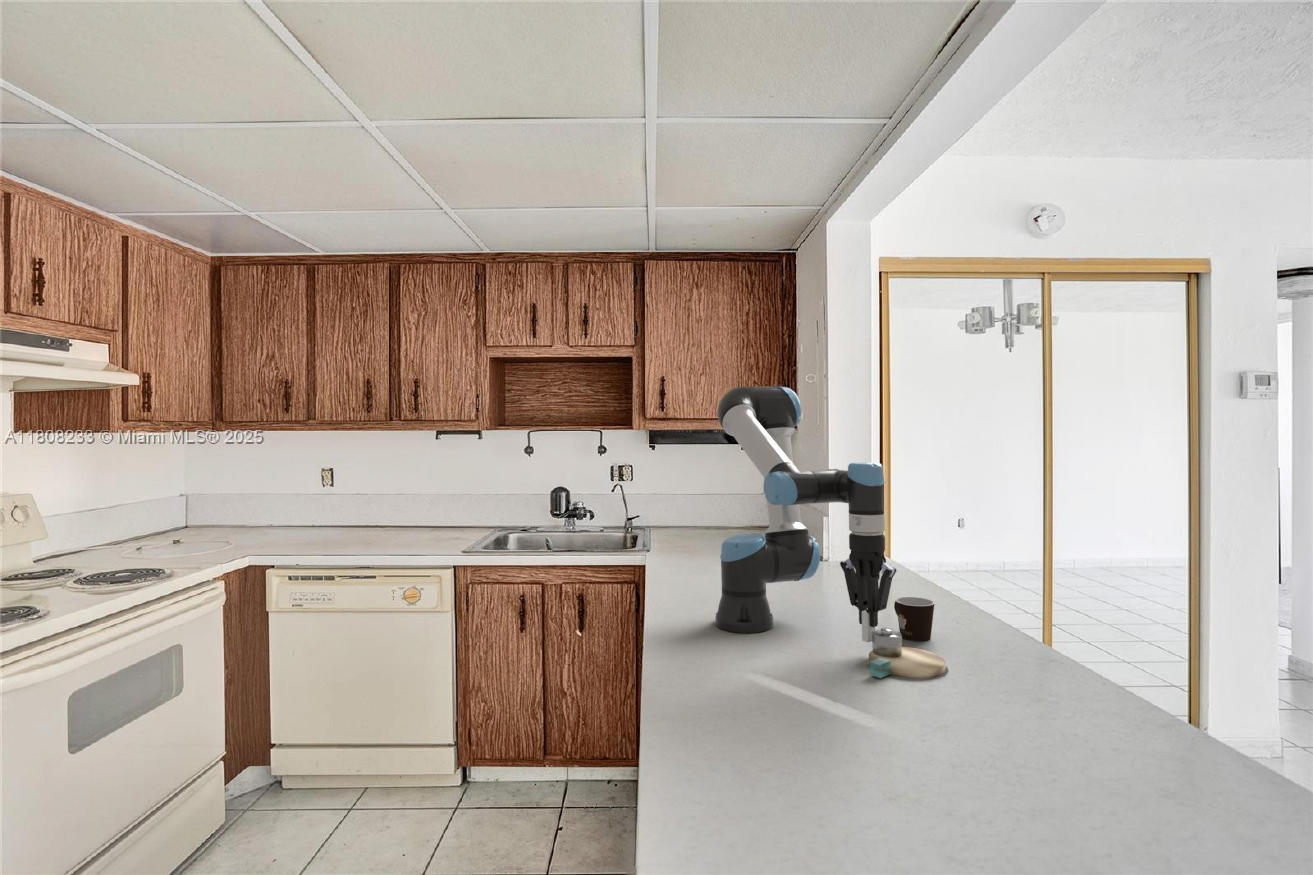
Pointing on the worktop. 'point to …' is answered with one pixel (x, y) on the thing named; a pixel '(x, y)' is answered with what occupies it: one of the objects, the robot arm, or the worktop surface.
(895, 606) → the coffee mug
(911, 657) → the platter
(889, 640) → the cover
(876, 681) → the worktop surface
